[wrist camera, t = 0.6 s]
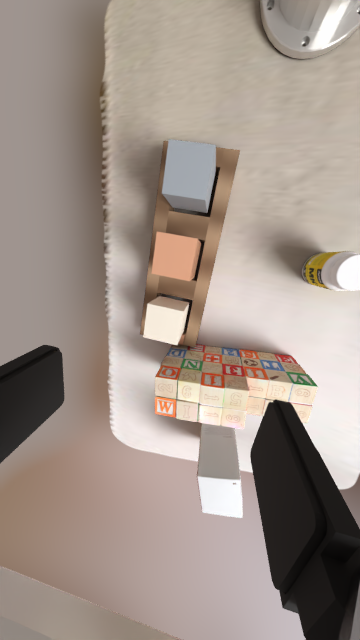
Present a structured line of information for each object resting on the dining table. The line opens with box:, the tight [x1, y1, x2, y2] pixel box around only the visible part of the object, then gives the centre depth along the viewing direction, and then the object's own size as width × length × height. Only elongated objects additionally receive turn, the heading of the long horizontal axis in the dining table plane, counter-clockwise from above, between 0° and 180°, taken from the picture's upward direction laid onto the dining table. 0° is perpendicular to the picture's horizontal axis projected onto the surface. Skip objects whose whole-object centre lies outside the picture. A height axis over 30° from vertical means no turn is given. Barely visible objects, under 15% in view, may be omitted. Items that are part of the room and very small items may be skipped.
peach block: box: [151, 232, 201, 281], centre depth 26 cm, size 5×5×6 cm
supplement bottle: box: [302, 251, 360, 291], centre depth 25 cm, size 5×5×8 cm
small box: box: [197, 423, 243, 518], centre depth 35 cm, size 8×6×13 cm
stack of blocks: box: [155, 344, 318, 429], centre depth 31 cm, size 21×6×12 cm, turn 87°
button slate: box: [162, 139, 216, 213], centre depth 24 cm, size 5×5×6 cm
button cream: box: [143, 296, 189, 345], centre depth 29 cm, size 5×5×6 cm
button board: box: [140, 141, 240, 347], centre depth 30 cm, size 28×10×3 cm, turn 170°
